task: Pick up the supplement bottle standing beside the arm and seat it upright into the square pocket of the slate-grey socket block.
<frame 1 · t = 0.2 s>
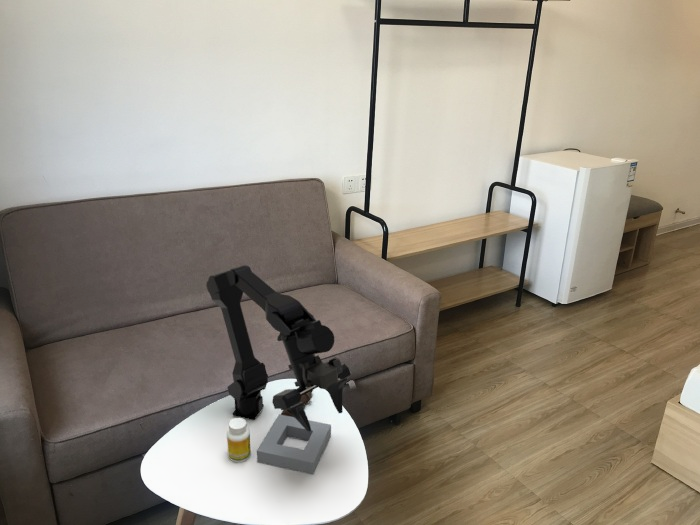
hand: (325, 421, 129), 15 cm above the table, tool tilted 30°, fingers open, 9 cm apart
supplement bottle: (239, 455, 139), on the table
socket block: (295, 448, 142), on the table
bolt: (299, 410, 156), on the table
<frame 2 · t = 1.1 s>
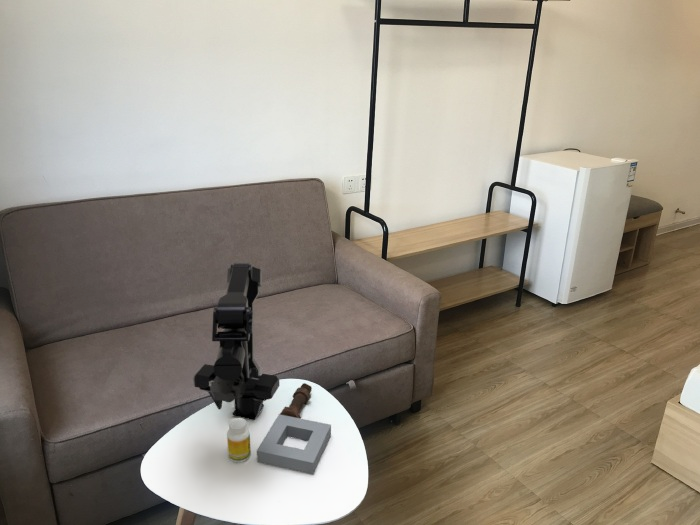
hand: (238, 411, 134), 13 cm above the table, tool pointing down, fingers open, 9 cm apart
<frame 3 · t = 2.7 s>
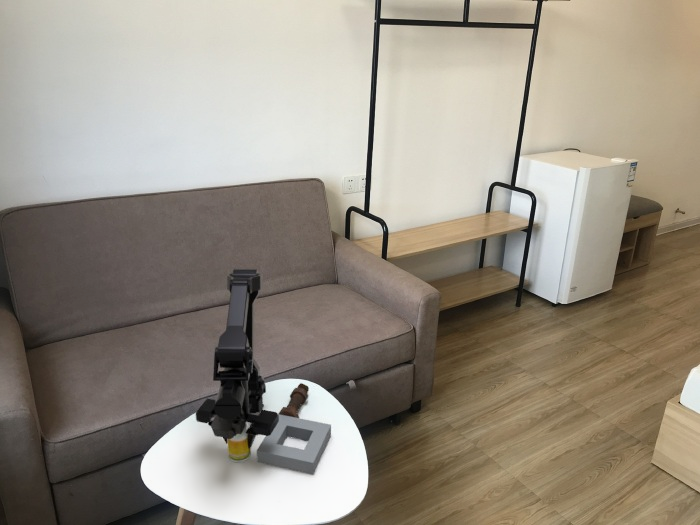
hand: (239, 445, 138), 3 cm above the table, tool pointing down, fingers closed on supplement bottle, 5 cm apart
supplement bottle: (239, 455, 139), on the table, touching gripper
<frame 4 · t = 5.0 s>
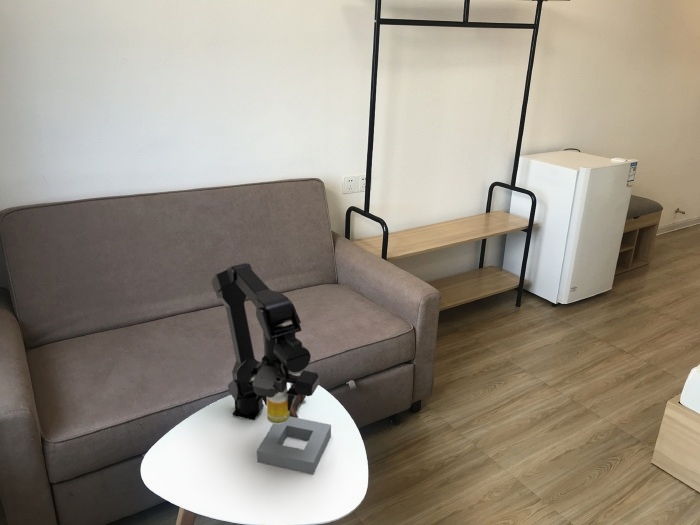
hand: (278, 407, 135), 13 cm above the table, tool pointing down, fingers closed on supplement bottle, 5 cm apart
supplement bottle: (278, 418, 137), point 10 cm above the table, touching gripper
when the fingers open (5 cm above the table, at t = 7.6 s): supplement bottle drops 2 cm, resting in socket block.
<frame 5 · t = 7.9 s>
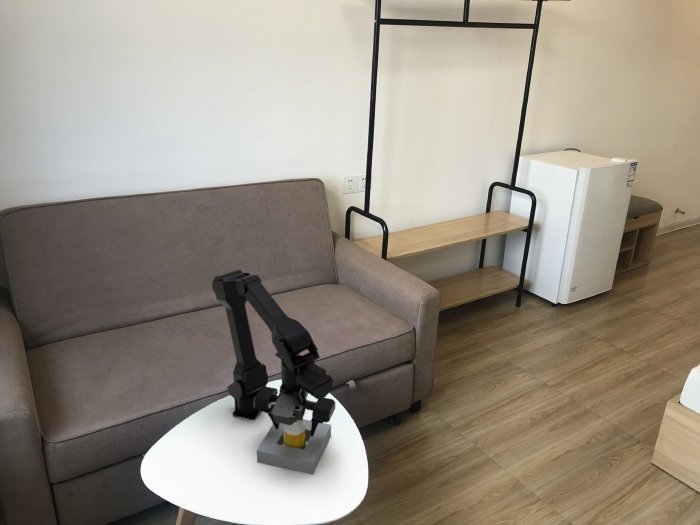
hand: (294, 432, 140), 5 cm above the table, tool pointing down, fingers open, 9 cm apart
supplement bottle: (295, 449, 142), resting in socket block
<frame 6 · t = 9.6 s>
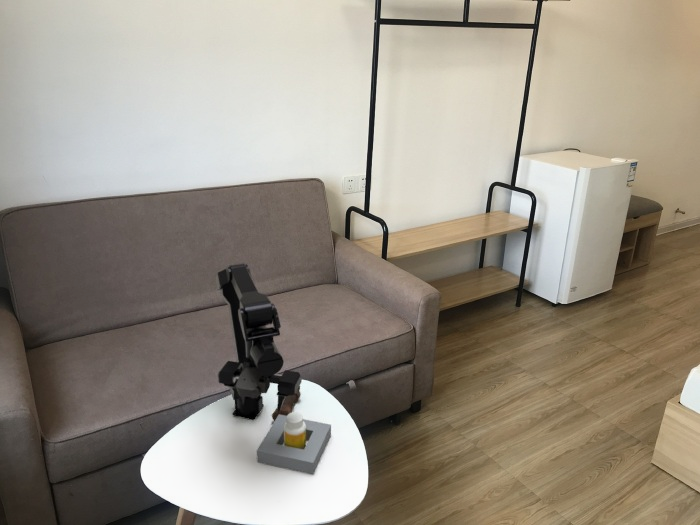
hand: (261, 407, 137), 12 cm above the table, tool pointing down, fingers open, 9 cm apart
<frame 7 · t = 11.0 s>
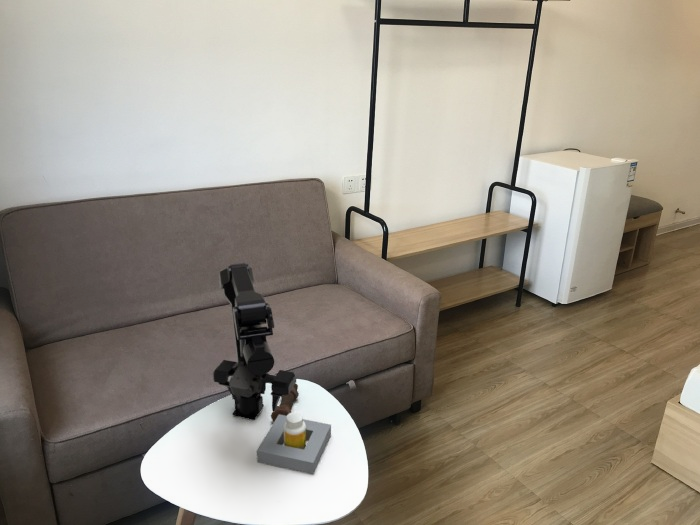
hand: (256, 406, 137), 12 cm above the table, tool pointing down, fingers open, 9 cm apart
at the end: supplement bottle 0.0 cm off-centre on the socket block, point 0.0 cm above the socket block's base; supplement bottle tilted 0°; the gripper is holding nothing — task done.
